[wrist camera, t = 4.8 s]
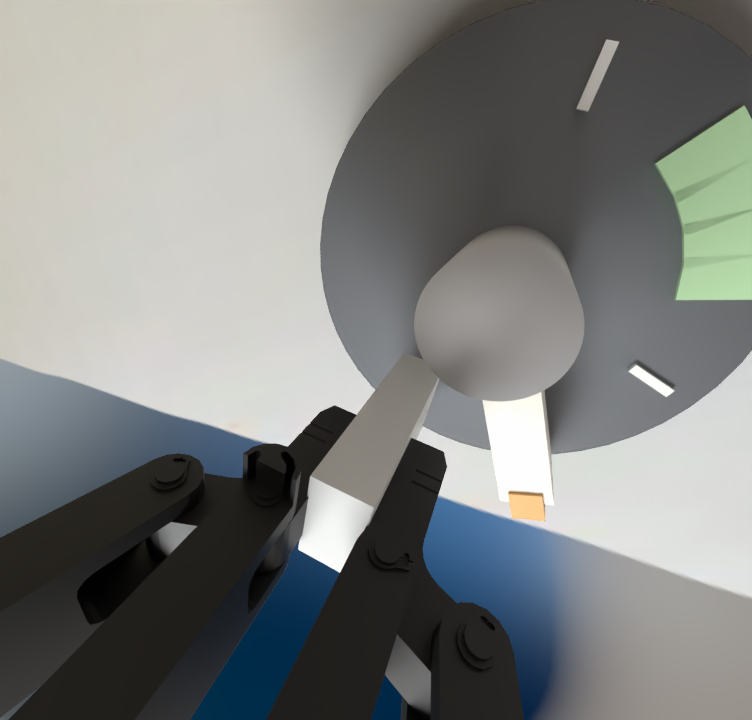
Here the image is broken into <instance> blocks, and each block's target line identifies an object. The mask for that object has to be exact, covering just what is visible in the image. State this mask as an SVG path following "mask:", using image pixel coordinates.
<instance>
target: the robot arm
mask: <svg viewBox="0 0 752 720" xmlns="http://www.w3.org/2000/svg"><path fill="white" fill-rule="evenodd" d="M438 382H439V378H438V377H437V376H436V375H435V374H434V373H433V372H432V371H431V370H430V369H429V367H428V366H427V365H426V363H425V361H424V360H423V359H420V358H418V357H415V356H413V355H410V354H407V353H404V354H403V355H402V356H401V358H400V359H399V360H398V362H397V363H396V364H395V366H394V367H393V368H392V370H391V371H390V372H389V373H388V375H387V376H386V377H385V379H384V380H383V381H382V383H381V384H380V385H379V387H378V388H377V389H376V390H375V392H374V393H373V394H372V396H371V397H370V398H369V400H368V401H367V402H366V404H365V405H364V406H363V407H362V409H361V410H360V411H359V413H358V414H357V415H355V414H353V413H351V412H348V411H346V410H344V409H342V408H339V407H337V406H332V407H330V408H328V409H326V410H324V411H321V412H320V413H319V414H318V415H317V416H316V417H315V418H314V419H313V420H312V422H311V423H310V425H308V426H307V427H306V428H305V429H304V430H303V432H302V433H300V434H299V435H298V437H297V438H296V439H295V440H294V441H293V442H292V443H291V444H290V445H289V446H288V447H286V446H283V445H279V444H262V445H259V446H255V447H252V448H251V449H250V450H248V451H246V452H245V453H244V454H243V478H229V477H223V476H217V475H211V474H206V473H204V468H203V466H202V464H201V463H200V461H199V460H197V459H196V458H194V457H192V456H190V455H185V454H172V455H165V456H162V457H160V458H157V459H154V460H152V461H150V462H148V463H146V464H144V465H142V466H140V467H138V468H136V469H135V470H133V471H130V472H129V473H127V474H125V475H123V476H121V477H119V478H117V479H115V480H113V481H111V482H109V483H107V484H105V485H103V486H101V487H99V488H97V489H96V490H93V491H91V492H89V493H87V494H85V495H84V496H81V497H79V498H77V499H76V500H74V501H72V502H70V503H68V504H66V505H64V506H62V507H60V508H58V509H56V510H54V511H52V512H50V513H48V514H46V515H44V516H42V517H40V518H38V519H36V520H34V521H32V522H30V523H29V524H26V525H25V526H23V527H21V528H19V529H17V530H15V531H13V532H11V533H9V534H7V535H5V536H3V537H1V538H0V717H2V716H3V715H4V714H5V713H7V712H8V711H9V710H11V709H12V708H13V707H14V706H16V705H17V704H18V703H19V702H21V701H22V700H23V699H25V698H26V697H27V696H28V695H30V694H31V693H32V692H33V691H35V690H36V689H37V688H39V687H40V686H41V685H42V684H43V685H42V686H41V687H40V688H39V689H38V690H37V691H36V692H35V693H34V694H33V695H32V696H31V697H30V698H29V699H28V701H26V702H25V703H24V704H23V705H22V707H20V708H19V710H18V711H17V712H16V713H15V714H14V715H13V716H12V717H11V718H10V719H9V720H190V718H191V717H192V715H193V713H194V712H195V711H196V709H197V707H198V706H199V704H200V703H201V701H202V700H203V698H204V697H205V695H206V693H207V692H208V690H209V689H210V687H211V686H212V684H213V682H214V681H215V679H216V678H217V676H218V675H219V673H220V672H221V670H222V668H223V667H224V665H225V664H226V662H227V661H228V659H229V657H230V656H231V654H232V653H233V651H234V650H235V648H236V646H237V645H238V643H239V642H240V640H241V639H242V637H243V635H244V634H245V632H246V631H247V629H248V628H249V626H250V625H251V623H252V622H253V620H254V618H255V617H256V615H257V614H258V612H259V611H260V609H261V607H262V606H263V604H264V603H265V601H266V600H267V598H268V596H269V595H270V593H271V592H272V590H273V589H274V587H275V586H276V584H277V582H278V581H279V579H280V577H281V576H282V575H283V573H284V571H285V569H286V566H287V564H288V561H289V554H290V553H291V551H292V550H293V548H294V547H295V545H296V544H297V542H298V541H299V539H300V542H299V548H298V549H299V550H300V551H302V552H304V553H305V554H307V555H309V556H311V557H313V558H315V559H316V560H318V561H320V562H322V563H324V564H326V565H327V566H329V567H331V568H333V569H334V570H336V571H338V572H340V574H339V576H338V578H337V580H336V582H335V584H334V586H333V588H332V590H331V592H330V594H329V596H328V598H327V600H326V602H325V604H324V606H323V608H322V610H321V612H320V614H319V616H318V618H317V620H316V622H315V624H314V626H313V628H312V630H311V631H310V633H309V635H308V638H307V640H306V641H305V644H304V645H303V647H302V649H301V651H300V653H299V655H298V657H297V660H296V661H295V663H294V665H293V667H292V670H291V672H290V673H289V675H288V677H287V679H286V681H285V683H284V686H283V687H282V689H281V691H280V693H279V695H278V697H277V699H276V701H275V704H274V705H273V707H272V709H271V711H270V713H269V715H268V717H267V719H266V720H371V717H372V713H373V710H374V707H375V703H376V701H377V697H378V694H379V691H380V688H381V685H382V681H383V678H384V675H386V677H387V678H388V679H389V680H390V682H391V683H392V684H393V685H394V686H395V687H396V689H397V690H398V691H399V692H400V694H401V695H402V709H401V710H402V711H401V720H524V717H523V710H522V705H521V697H520V691H519V684H518V678H517V671H516V665H515V658H514V653H513V649H512V646H511V643H510V640H509V636H508V635H507V633H506V632H505V630H504V628H503V627H502V625H501V624H500V622H499V621H498V620H497V619H496V618H495V617H494V616H493V615H492V614H491V613H490V612H489V611H488V610H487V609H485V608H483V607H480V606H478V605H476V604H474V603H462V602H460V603H458V604H457V603H456V602H455V601H454V600H453V599H452V598H451V597H450V596H449V595H448V594H446V592H445V591H444V590H443V589H442V588H441V587H439V585H438V584H437V583H436V582H435V581H434V579H433V578H432V577H431V575H430V573H429V572H428V570H427V568H426V565H425V562H424V559H423V550H422V549H423V543H424V538H425V535H426V532H427V529H428V525H429V522H430V519H431V516H432V513H433V510H434V506H435V503H436V500H437V497H438V493H439V490H440V487H441V484H442V481H443V478H444V474H445V471H446V468H447V465H446V461H445V456H444V452H443V451H441V450H438V449H436V448H434V447H431V446H429V445H427V444H424V443H422V442H420V441H418V440H416V439H417V437H418V435H419V432H420V430H421V428H422V426H423V424H424V421H425V418H426V415H427V412H428V410H429V407H430V404H431V401H432V399H433V396H434V393H435V390H436V387H437V385H438Z"/></svg>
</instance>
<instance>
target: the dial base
mask: <svg viewBox="0 0 752 720" xmlns="http://www.w3.org/2000/svg"><path fill="white" fill-rule="evenodd" d="M508 225H517V226H525V227H529V228H532V229H535V230H538V231H540V232H541V233H543V234H545V235H546V236H548V237H549V238H550V239H552V241H553V242H554V243H555V244H556V245H557V246H558V247H559V249H560V250H561V252H562V254H563V256H564V258H565V260H566V263H567V266H568V268H569V271H570V274H571V277H572V279H573V282H574V285H575V288H576V291H577V293H578V296H579V299H580V302H581V305H582V308H583V314H584V321H585V322H584V336H583V342H582V345H581V348H580V351H579V354H578V355H577V357H576V359H575V361H574V363H573V364H572V366H571V367H570V368H569V370H568V371H567V372H566V373H565V374H564V375H563V376H562V377H561V379H559V380H558V381H557V382H556V383H554V384H553V385H552V386H550V387H549V388H547V389H545V399H546V408H547V418H548V427H549V436H550V445H551V454H559V453H567V452H575V451H583V450H587V449H591V448H596V447H600V446H605V445H609V444H612V443H615V442H618V441H621V440H624V439H627V438H630V437H633V436H636V435H638V434H640V433H642V432H645V431H647V430H649V429H651V428H653V427H655V426H658V425H660V424H662V423H664V422H666V421H667V420H669V419H671V418H672V417H674V416H676V415H677V414H679V413H681V412H682V411H684V410H686V409H687V408H689V407H691V406H692V405H693V404H695V403H696V402H697V401H699V400H700V399H701V398H703V397H704V396H705V395H707V394H708V393H709V392H711V391H712V390H713V389H714V388H716V387H717V386H718V385H719V384H720V383H721V382H722V381H723V380H724V379H725V378H726V377H727V376H728V375H729V374H730V373H732V372H733V371H734V370H735V369H736V368H737V367H738V366H739V365H740V364H741V363H742V362H743V360H744V359H745V358H746V357H747V355H748V354H749V353H750V352H751V350H752V60H751V59H750V58H749V57H748V56H747V54H746V53H745V52H744V51H743V50H742V49H740V48H739V47H737V46H736V45H735V44H733V43H732V42H731V41H729V40H728V39H726V38H725V37H724V36H722V35H721V34H720V33H718V32H717V31H715V30H714V29H713V28H711V27H710V26H708V25H706V24H704V23H702V22H699V21H697V20H695V19H693V18H691V17H689V16H686V15H684V14H682V13H680V12H678V11H676V10H673V9H671V8H667V7H663V6H659V5H655V4H651V3H647V2H643V1H639V0H543V1H539V2H534V3H530V4H526V5H522V6H518V7H514V8H510V9H507V10H505V11H502V12H500V13H497V14H495V15H492V16H490V17H487V18H485V19H482V20H480V21H478V22H475V23H473V24H471V25H469V26H467V27H465V28H464V29H462V30H460V31H458V32H457V33H455V34H453V35H451V36H450V37H448V38H446V39H445V40H443V41H441V42H439V43H438V44H437V45H435V46H434V47H433V48H431V49H430V50H429V51H427V52H426V53H425V54H423V55H422V56H421V57H420V58H418V59H417V60H416V61H414V62H413V63H412V64H410V65H409V66H408V67H407V68H406V69H405V70H404V71H403V72H402V73H401V74H400V75H399V76H398V77H397V78H396V79H395V80H394V81H393V82H392V83H391V84H390V85H389V86H388V87H387V88H386V89H385V90H384V91H383V93H382V94H381V95H380V96H379V98H378V99H377V100H376V101H375V103H374V104H373V105H372V107H371V108H370V109H369V110H368V112H367V113H366V114H365V116H364V117H363V119H362V120H361V122H360V124H359V125H358V127H357V129H356V130H355V132H354V133H353V135H352V137H351V138H350V140H349V142H348V144H347V146H346V148H345V150H344V152H343V155H342V157H341V159H340V161H339V163H338V165H337V168H336V171H335V174H334V177H333V180H332V183H331V186H330V189H329V192H328V196H327V200H326V205H325V210H324V215H323V220H322V231H321V243H320V251H321V272H322V280H323V287H324V293H325V297H326V301H327V305H328V309H329V312H330V315H331V318H332V320H333V323H334V326H335V328H336V331H337V333H338V335H339V337H340V339H341V341H342V343H343V345H344V347H345V349H346V351H347V353H348V354H349V356H350V357H351V359H352V361H353V362H354V364H355V365H356V367H357V368H358V370H359V371H360V372H361V373H362V375H363V376H364V377H365V378H366V379H367V381H368V382H369V383H370V384H371V386H372V387H373V388H374V389H375V390H376V389H377V388H378V387H379V385H380V384H381V383H382V381H383V380H384V379H385V377H386V376H387V375H388V373H389V372H390V371H391V370H392V368H393V367H394V366H395V364H396V363H397V362H398V360H399V359H400V358H401V356H402V355H403V354H404V353H407V354H410V355H413V356H415V357H418V358H420V359H423V358H422V356H421V354H420V351H419V349H418V346H417V343H416V338H415V332H414V318H415V311H416V307H417V303H418V301H419V298H420V295H421V293H422V292H423V290H424V288H425V286H426V285H427V284H428V282H429V281H430V280H431V278H432V277H433V276H434V275H435V274H436V273H437V272H438V271H439V270H440V269H441V268H442V267H443V266H444V265H445V264H446V263H448V262H449V261H450V260H451V259H452V258H453V257H454V256H455V255H456V254H457V253H458V252H459V251H460V250H461V249H463V248H464V247H465V246H466V245H467V244H468V243H469V242H470V241H471V240H473V239H474V238H475V237H477V236H478V235H480V234H481V233H483V232H485V231H488V230H490V229H493V228H496V227H501V226H508ZM423 426H424V427H426V428H428V429H430V430H432V431H434V432H436V433H438V434H440V435H442V436H445V437H447V438H450V439H452V440H455V441H458V442H460V443H464V444H467V445H471V446H474V447H478V448H482V449H487V450H491V446H490V440H489V434H488V429H487V423H486V418H485V412H484V406H483V401H482V400H480V399H476V398H472V397H469V396H466V395H464V394H462V393H460V392H457V391H455V390H454V389H452V388H450V387H449V386H447V385H446V384H445V383H443V382H442V381H441V380H440V379H439V382H438V385H437V387H436V390H435V393H434V396H433V399H432V401H431V404H430V407H429V410H428V412H427V415H426V418H425V421H424V424H423Z"/></svg>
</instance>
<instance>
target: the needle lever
mask: <svg viewBox="0 0 752 720" xmlns="http://www.w3.org/2000/svg"><path fill="white" fill-rule="evenodd" d="M584 322H585V321H584V314H583V308H582V305H581V302H580V299H579V296H578V293H577V291H576V288H575V285H574V282H573V279H572V277H571V274H570V271H569V268H568V266H567V263H566V260H565V258H564V256H563V254H562V252H561V250H560V249H559V247H558V246H557V245H556V244H555V243H554V242H553V241H552V239H550V238H549V237H548V236H546V235H545V234H543V233H541V232H540V231H538V230H535V229H532V228H529V227H525V226H517V225H508V226H501V227H496V228H493V229H490V230H488V231H485V232H483V233H481V234H480V235H478V236H477V237H475V238H474V239H473V240H471V241H470V242H469V243H468V244H467V245H466V246H465V247H464V248H463V249H461V250H460V251H459V252H458V253H457V254H456V255H455V256H454V257H453V258H452V259H451V260H450V261H449V262H448V263H446V264H445V265H444V266H443V267H442V268H441V269H440V270H439V271H438V272H437V273H436V274H435V275H434V276H433V277H432V278H431V280H430V281H429V282H428V284H427V285H426V286H425V288H424V290H423V292H422V293H421V295H420V298H419V301H418V303H417V307H416V311H415V318H414V332H415V338H416V343H417V346H418V349H419V351H420V354H421V356H422V358H423V360H424V361H425V363H426V365H427V366H428V367H429V369H430V370H431V371H432V372H433V373H434V374H435V375H436V376H437V377H438V378H439V379H440V380H441V381H442V382H443V383H445V384H446V385H447V386H449V387H450V388H452V389H454V390H455V391H457V392H460V393H462V394H464V395H466V396H469V397H472V398H476V399H480V400H482V401H483V406H484V412H485V418H486V423H487V429H488V434H489V440H490V446H491V451H492V457H493V463H494V468H495V474H496V480H497V485H498V491H499V497H500V501H508V502H509V503H510V509H511V515H512V518H518V519H528V520H538V521H545V505H554V497H553V478H552V460H551V445H550V436H549V427H548V418H547V408H546V399H545V389H547V388H549V387H550V386H552V385H553V384H554V383H556V382H557V381H558V380H559V379H561V377H562V376H563V375H564V374H565V373H566V372H567V371H568V370H569V368H570V367H571V366H572V364H573V363H574V361H575V359H576V357H577V355H578V354H579V351H580V348H581V345H582V342H583V336H584Z"/></svg>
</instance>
